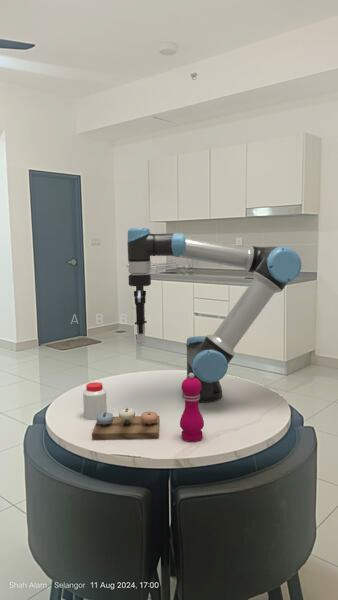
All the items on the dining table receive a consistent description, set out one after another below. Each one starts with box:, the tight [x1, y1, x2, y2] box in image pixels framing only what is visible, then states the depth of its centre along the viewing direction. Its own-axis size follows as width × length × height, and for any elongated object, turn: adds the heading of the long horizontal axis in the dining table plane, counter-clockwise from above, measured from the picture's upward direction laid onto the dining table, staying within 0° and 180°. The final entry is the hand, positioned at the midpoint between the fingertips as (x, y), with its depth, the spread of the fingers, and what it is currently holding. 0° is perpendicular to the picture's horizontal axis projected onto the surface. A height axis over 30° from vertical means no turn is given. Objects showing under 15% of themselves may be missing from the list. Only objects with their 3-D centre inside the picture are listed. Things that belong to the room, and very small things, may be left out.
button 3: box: [96, 411, 114, 426], centre depth 152 cm, size 5×5×4 cm
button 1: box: [140, 411, 158, 425], centre depth 152 cm, size 5×5×4 cm
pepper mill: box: [179, 373, 205, 443], centre depth 145 cm, size 7×7×20 cm
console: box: [91, 415, 160, 441], centre depth 152 cm, size 20×14×2 cm
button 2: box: [118, 407, 136, 424], centre depth 152 cm, size 5×5×4 cm
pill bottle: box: [82, 381, 108, 421], centre depth 165 cm, size 8×8×11 cm
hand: (141, 342), depth 167 cm, fingers closed
